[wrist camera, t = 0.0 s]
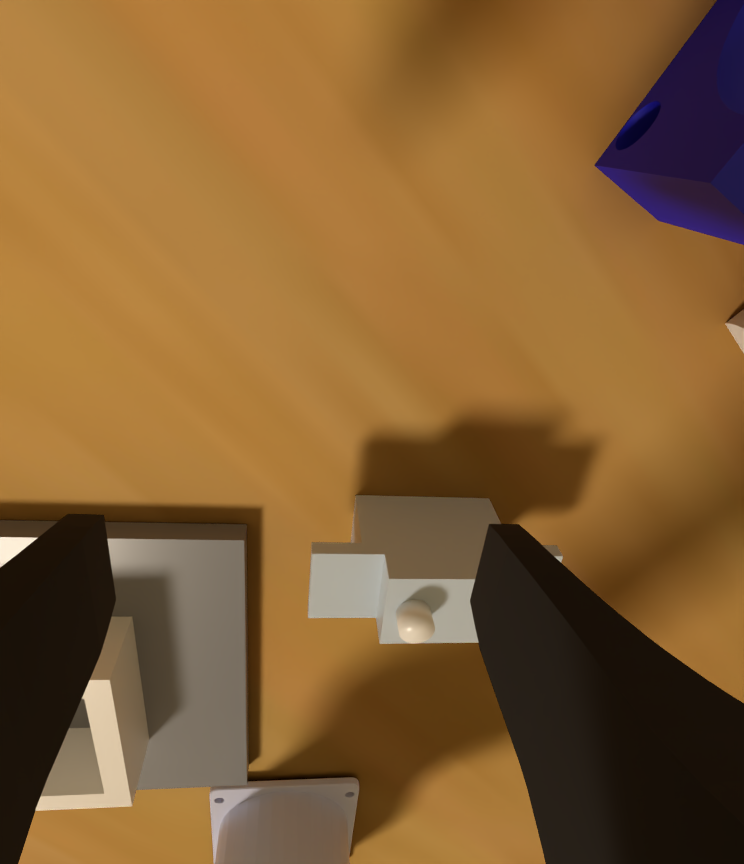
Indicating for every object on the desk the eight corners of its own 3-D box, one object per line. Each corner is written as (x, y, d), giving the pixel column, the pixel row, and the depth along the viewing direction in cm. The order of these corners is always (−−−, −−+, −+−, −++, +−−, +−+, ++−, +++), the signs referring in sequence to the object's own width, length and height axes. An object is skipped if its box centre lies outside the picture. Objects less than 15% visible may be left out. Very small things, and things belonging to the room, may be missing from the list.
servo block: (513, 554, 25) (563, 659, 20) (308, 552, 24) (308, 663, 19) (529, 498, 24) (586, 596, 19) (311, 493, 22) (311, 596, 18)
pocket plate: (248, 766, 30) (241, 850, 27) (-127, 780, 28) (-189, 874, 24) (246, 524, 23) (235, 597, 19) (-267, 515, 20) (-386, 597, 17)
